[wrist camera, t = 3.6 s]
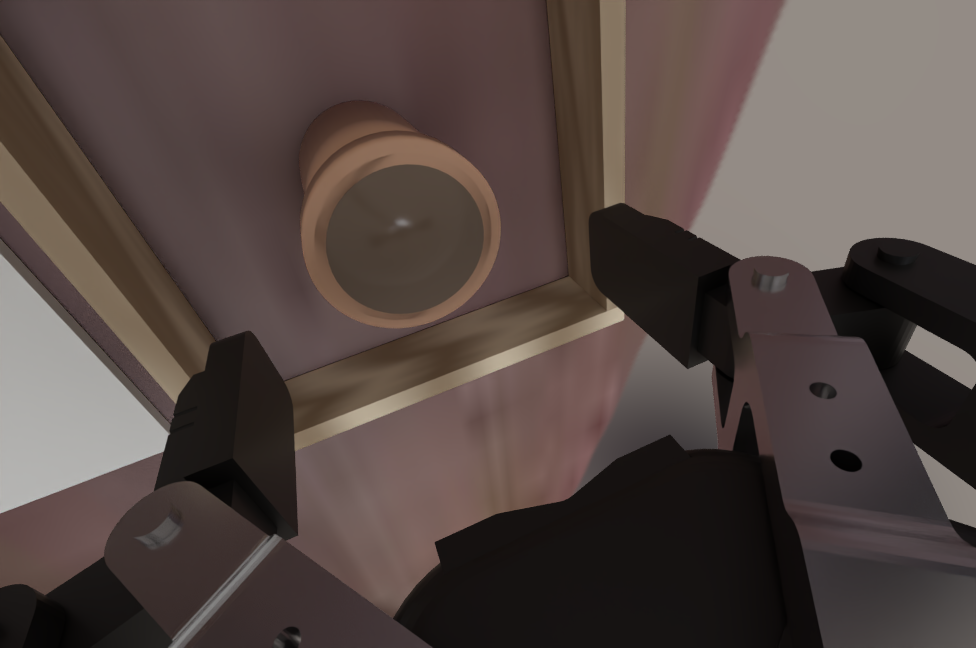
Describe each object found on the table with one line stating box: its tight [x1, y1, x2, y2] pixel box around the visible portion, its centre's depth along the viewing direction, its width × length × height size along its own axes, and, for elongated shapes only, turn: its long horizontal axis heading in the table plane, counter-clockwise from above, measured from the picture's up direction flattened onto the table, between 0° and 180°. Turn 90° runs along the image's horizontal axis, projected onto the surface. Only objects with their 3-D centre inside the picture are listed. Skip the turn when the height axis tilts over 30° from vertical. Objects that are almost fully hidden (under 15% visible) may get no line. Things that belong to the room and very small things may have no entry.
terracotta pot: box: [299, 101, 501, 328], centre depth 17 cm, size 6×6×8 cm
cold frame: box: [0, 0, 626, 451], centre depth 17 cm, size 20×20×7 cm
